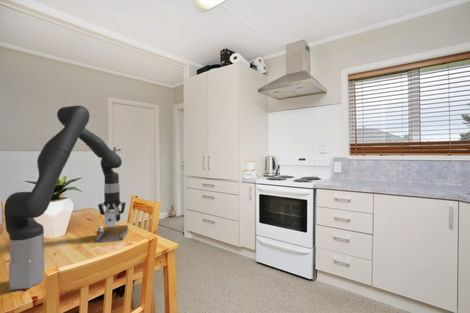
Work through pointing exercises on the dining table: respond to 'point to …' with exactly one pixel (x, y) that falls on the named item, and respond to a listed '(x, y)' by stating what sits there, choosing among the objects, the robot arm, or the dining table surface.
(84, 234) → the dining table surface
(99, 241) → the grey channel bracket
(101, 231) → the hitch pin
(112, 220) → the grey metal block
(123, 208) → the robot arm
